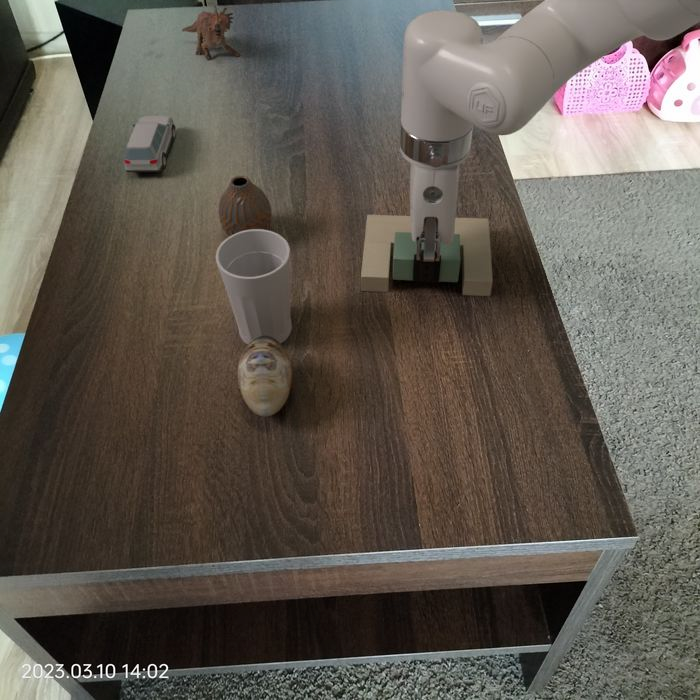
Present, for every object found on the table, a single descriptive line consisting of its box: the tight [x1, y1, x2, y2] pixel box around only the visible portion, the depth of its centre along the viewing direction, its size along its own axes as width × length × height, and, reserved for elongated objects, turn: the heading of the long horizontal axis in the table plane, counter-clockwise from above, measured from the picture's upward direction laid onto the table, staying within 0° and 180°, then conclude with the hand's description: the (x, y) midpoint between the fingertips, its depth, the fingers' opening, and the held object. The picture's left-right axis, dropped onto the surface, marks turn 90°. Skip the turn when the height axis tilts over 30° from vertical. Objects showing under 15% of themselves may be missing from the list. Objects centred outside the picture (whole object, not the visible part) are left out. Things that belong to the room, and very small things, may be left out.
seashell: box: [237, 335, 293, 418], centre depth 77 cm, size 10×6×8 cm, turn 4°
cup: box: [215, 229, 293, 345], centre depth 83 cm, size 8×8×12 cm
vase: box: [218, 175, 273, 237], centre depth 95 cm, size 7×7×9 cm
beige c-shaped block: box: [360, 214, 494, 297], centre depth 93 cm, size 16×12×2 cm
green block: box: [392, 232, 461, 283], centre depth 90 cm, size 8×5×4 cm, turn 85°
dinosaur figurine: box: [181, 5, 241, 61], centre depth 129 cm, size 14×6×9 cm, turn 42°
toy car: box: [123, 114, 176, 173], centre depth 110 cm, size 6×13×5 cm, turn 178°
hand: (426, 263), depth 91 cm, fingers closed on green block, 4 cm apart
